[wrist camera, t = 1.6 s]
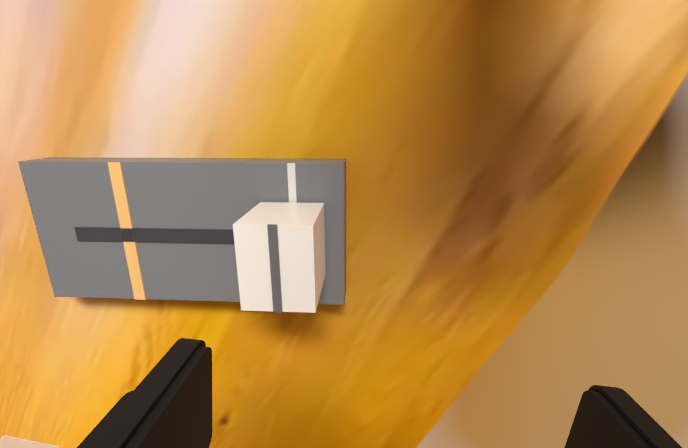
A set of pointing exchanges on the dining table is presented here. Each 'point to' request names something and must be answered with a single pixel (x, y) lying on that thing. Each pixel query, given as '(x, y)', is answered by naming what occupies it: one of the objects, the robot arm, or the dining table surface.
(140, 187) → the board
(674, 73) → the dining table surface
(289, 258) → the fader tab
